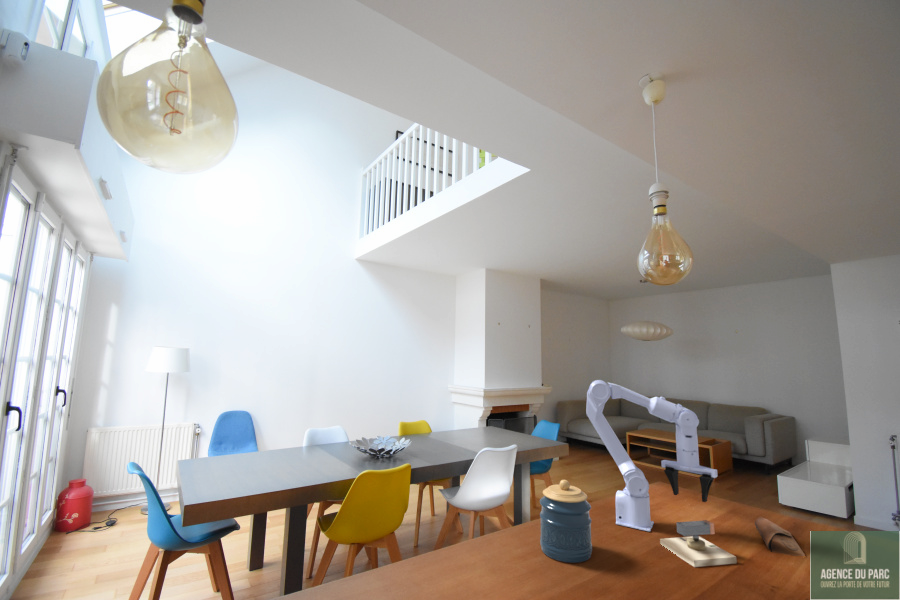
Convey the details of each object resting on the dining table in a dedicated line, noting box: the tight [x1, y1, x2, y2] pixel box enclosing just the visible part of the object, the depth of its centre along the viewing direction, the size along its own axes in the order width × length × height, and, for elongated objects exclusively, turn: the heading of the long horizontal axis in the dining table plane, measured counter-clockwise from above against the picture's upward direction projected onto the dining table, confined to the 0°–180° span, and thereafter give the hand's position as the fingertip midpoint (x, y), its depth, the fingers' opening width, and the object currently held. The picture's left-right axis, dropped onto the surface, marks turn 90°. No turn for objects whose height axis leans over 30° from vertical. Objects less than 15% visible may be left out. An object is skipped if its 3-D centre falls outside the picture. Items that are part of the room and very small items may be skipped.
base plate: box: [659, 535, 738, 568], centre depth 106 cm, size 12×12×3 cm
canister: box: [539, 479, 593, 564], centre depth 107 cm, size 13×13×18 cm
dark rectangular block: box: [676, 519, 716, 541], centre depth 107 cm, size 2×9×4 cm, turn 101°
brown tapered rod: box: [754, 516, 806, 557], centre depth 114 cm, size 18×7×7 cm
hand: (690, 497), depth 121 cm, fingers open, 7 cm apart
